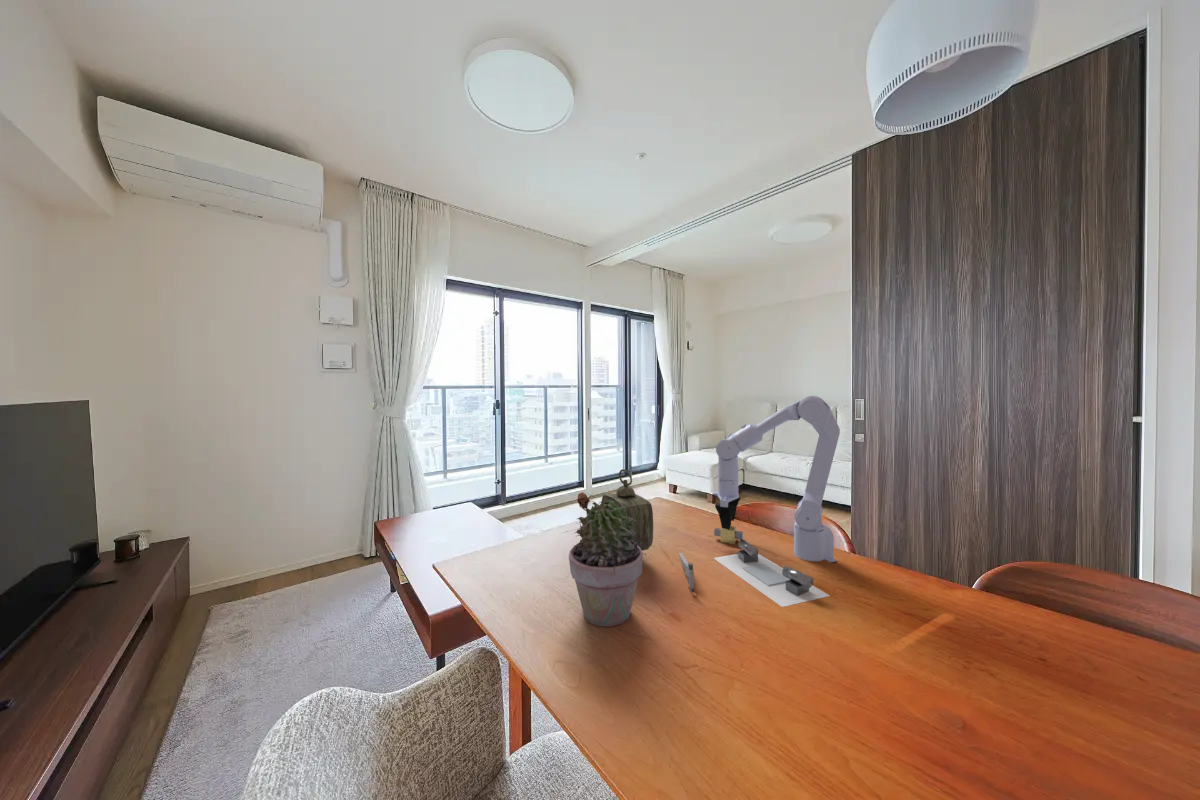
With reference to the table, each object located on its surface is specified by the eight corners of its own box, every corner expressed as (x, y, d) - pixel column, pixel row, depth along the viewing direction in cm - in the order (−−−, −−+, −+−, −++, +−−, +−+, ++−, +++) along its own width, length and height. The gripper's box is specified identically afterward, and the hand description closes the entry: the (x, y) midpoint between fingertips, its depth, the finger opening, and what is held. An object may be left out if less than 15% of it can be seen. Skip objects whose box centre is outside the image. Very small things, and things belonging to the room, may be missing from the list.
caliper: (694, 594, 92) (694, 567, 91) (689, 594, 92) (689, 567, 91) (681, 555, 112) (681, 533, 112) (677, 555, 112) (677, 533, 112)
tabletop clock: (601, 552, 114) (600, 466, 113) (629, 546, 118) (628, 463, 117) (626, 573, 101) (624, 476, 100) (656, 566, 105) (654, 472, 104)
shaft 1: (735, 555, 108) (735, 539, 108) (749, 554, 109) (749, 538, 109) (746, 565, 102) (746, 548, 102) (761, 564, 103) (761, 547, 103)
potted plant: (655, 646, 73) (653, 512, 72) (553, 635, 77) (550, 508, 76) (660, 595, 91) (658, 487, 90) (577, 588, 95) (575, 484, 94)
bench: (753, 554, 111) (753, 549, 111) (830, 600, 87) (830, 594, 87) (713, 561, 107) (713, 556, 107) (782, 611, 83) (782, 605, 83)
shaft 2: (779, 587, 91) (779, 568, 91) (791, 582, 93) (791, 564, 93) (803, 599, 86) (803, 579, 86) (815, 594, 88) (815, 574, 88)
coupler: (716, 539, 122) (716, 523, 122) (743, 544, 119) (743, 527, 118) (713, 544, 119) (713, 528, 118) (741, 549, 115) (741, 532, 115)
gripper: (718, 472, 126) (719, 514, 127) (709, 483, 113) (709, 530, 114) (742, 474, 123) (742, 518, 124) (735, 485, 110) (735, 534, 111)
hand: (728, 524), depth 118 cm, fingers open, 7 cm apart
